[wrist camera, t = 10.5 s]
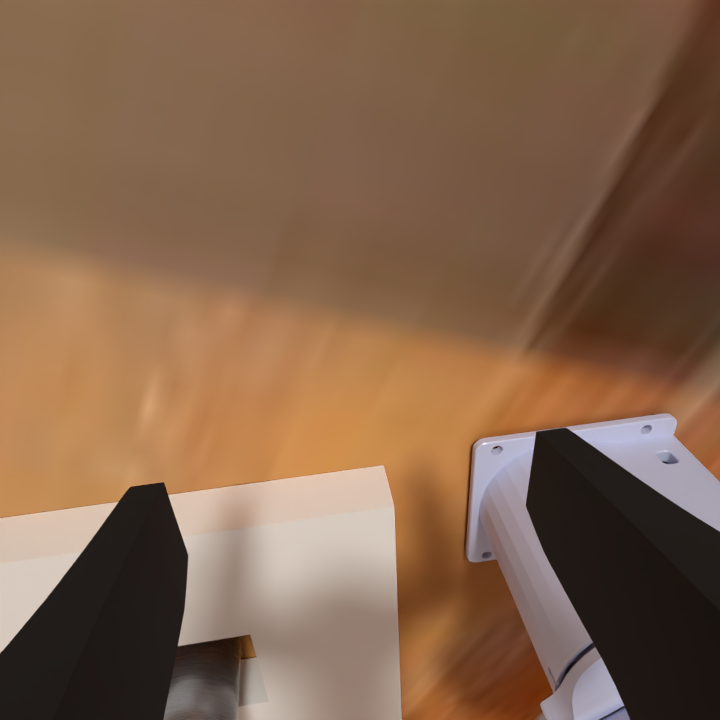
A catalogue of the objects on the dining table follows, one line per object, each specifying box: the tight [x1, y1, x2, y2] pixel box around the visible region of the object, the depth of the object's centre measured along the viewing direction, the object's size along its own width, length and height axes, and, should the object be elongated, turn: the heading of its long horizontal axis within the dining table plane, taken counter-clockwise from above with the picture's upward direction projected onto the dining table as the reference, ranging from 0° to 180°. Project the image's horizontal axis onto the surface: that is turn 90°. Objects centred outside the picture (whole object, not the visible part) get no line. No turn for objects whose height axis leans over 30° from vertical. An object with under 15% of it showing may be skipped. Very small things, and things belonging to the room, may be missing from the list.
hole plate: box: [0, 465, 402, 720], centre depth 28 cm, size 20×20×2 cm
